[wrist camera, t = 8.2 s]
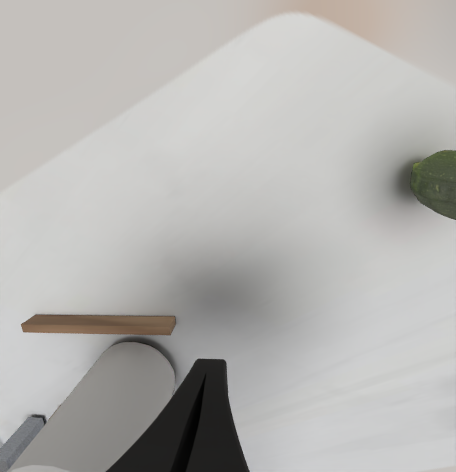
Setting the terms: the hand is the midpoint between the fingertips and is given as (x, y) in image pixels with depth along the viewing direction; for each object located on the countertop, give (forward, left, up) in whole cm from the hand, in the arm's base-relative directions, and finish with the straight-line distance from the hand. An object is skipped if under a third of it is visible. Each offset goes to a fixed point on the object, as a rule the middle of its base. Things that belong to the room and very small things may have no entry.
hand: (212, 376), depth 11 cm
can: (-9, +9, -10) cm, 16 cm away
